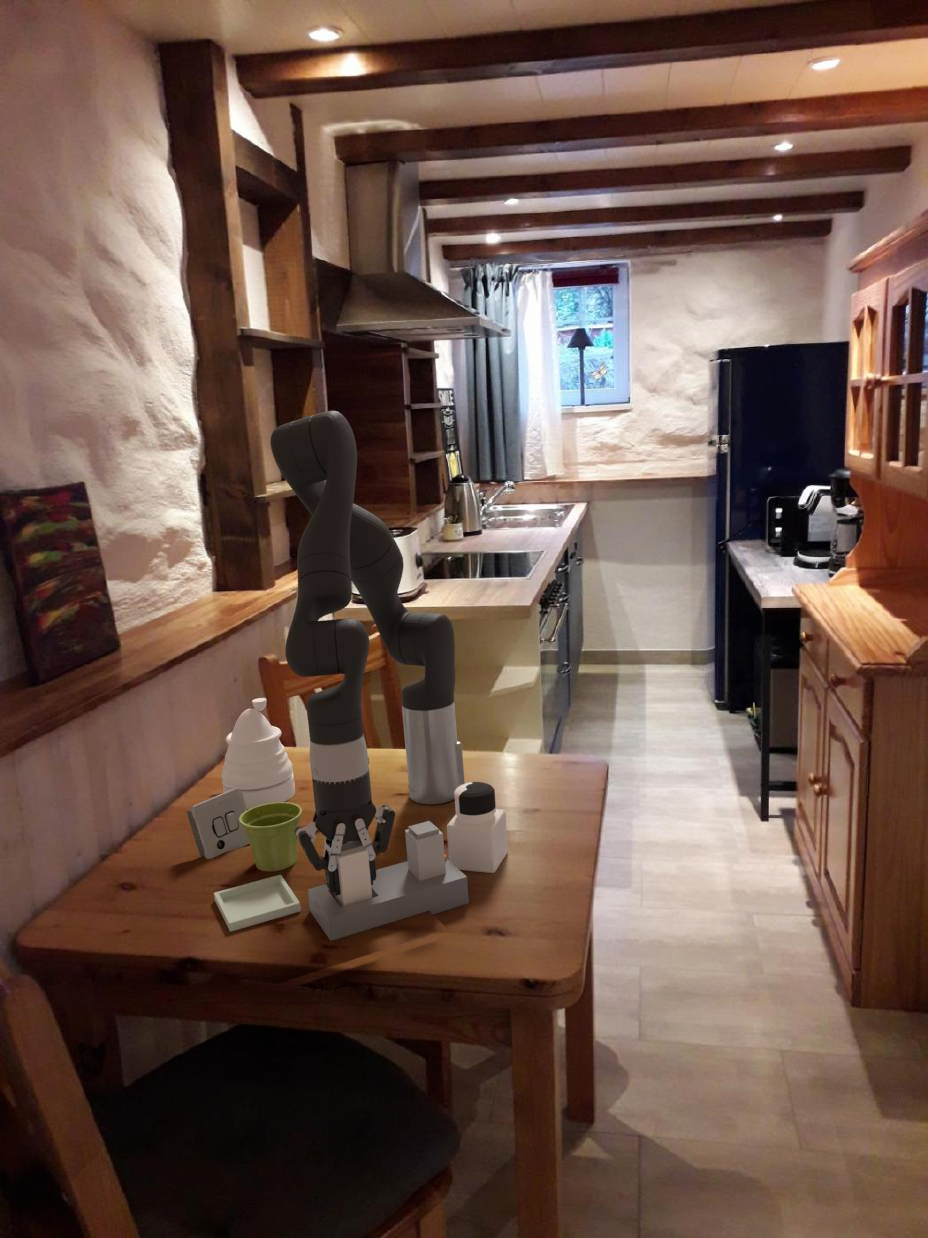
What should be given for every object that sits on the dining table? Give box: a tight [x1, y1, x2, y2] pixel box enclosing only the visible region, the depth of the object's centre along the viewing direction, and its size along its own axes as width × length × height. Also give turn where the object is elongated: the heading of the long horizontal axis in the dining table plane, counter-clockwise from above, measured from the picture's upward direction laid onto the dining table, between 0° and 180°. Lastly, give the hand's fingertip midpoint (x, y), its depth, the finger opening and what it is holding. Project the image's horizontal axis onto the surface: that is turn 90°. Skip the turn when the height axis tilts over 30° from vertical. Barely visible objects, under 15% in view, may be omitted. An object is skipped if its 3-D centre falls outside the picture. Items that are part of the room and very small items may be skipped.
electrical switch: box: [186, 788, 250, 860], centre depth 153 cm, size 9×5×9 cm, turn 141°
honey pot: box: [221, 697, 296, 809], centre depth 173 cm, size 13×13×18 cm
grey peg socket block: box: [307, 820, 470, 942], centre depth 130 cm, size 20×9×11 cm, turn 116°
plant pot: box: [239, 801, 303, 872], centre depth 145 cm, size 9×9×9 cm
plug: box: [335, 841, 372, 907], centre depth 128 cm, size 4×4×10 cm
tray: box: [213, 874, 302, 933], centre depth 133 cm, size 10×10×2 cm
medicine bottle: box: [446, 781, 509, 874], centre depth 142 cm, size 7×7×12 cm
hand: (352, 887), depth 128 cm, fingers closed on plug, 4 cm apart
